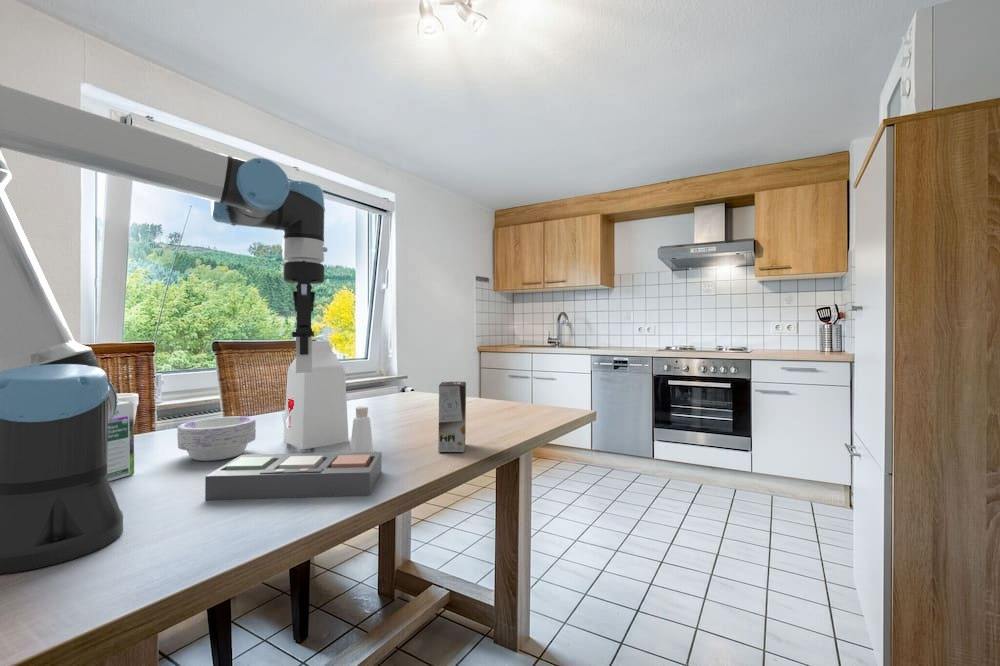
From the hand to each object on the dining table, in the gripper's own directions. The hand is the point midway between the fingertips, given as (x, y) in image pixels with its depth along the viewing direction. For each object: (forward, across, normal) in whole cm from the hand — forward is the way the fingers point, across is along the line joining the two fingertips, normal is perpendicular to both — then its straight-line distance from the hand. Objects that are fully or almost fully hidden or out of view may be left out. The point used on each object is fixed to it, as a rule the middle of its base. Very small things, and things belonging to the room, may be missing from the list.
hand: (304, 369), depth 93 cm
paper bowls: (+21, +22, +18) cm, 35 cm away
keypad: (+21, -6, 0) cm, 22 cm away
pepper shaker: (+21, +12, -12) cm, 27 cm away
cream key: (+18, -6, 0) cm, 20 cm away
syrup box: (+21, +11, +35) cm, 42 cm away
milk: (+21, +29, -3) cm, 36 cm away
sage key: (+18, -4, +9) cm, 21 cm away
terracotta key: (+19, -9, -8) cm, 22 cm away
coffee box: (+21, +10, -34) cm, 41 cm away
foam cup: (+21, +35, +42) cm, 58 cm away
